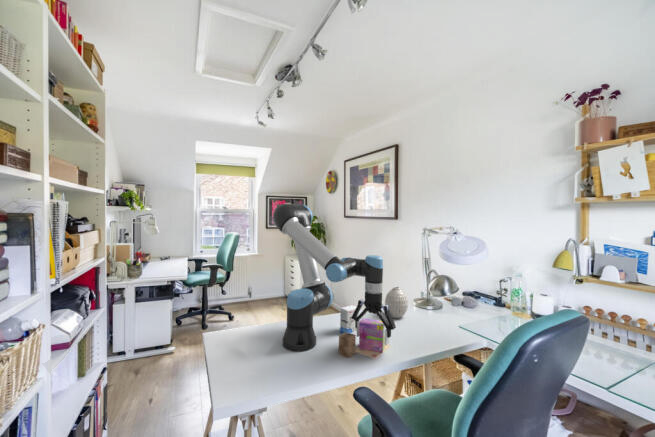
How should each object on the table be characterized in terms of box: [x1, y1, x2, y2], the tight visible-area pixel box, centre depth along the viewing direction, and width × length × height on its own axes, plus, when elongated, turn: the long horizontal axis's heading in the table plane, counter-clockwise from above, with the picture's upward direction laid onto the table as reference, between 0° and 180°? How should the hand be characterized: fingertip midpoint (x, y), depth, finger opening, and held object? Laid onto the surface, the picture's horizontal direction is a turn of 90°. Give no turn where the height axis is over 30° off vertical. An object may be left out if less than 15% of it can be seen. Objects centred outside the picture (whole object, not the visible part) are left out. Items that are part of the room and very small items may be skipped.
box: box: [358, 317, 386, 354], centre depth 131 cm, size 10×6×12 cm, turn 69°
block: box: [338, 332, 357, 359], centre depth 126 cm, size 5×5×8 cm
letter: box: [355, 344, 391, 360], centre depth 131 cm, size 11×15×1 cm
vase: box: [384, 286, 409, 319], centre depth 171 cm, size 13×13×17 cm
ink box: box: [339, 304, 360, 334], centre depth 150 cm, size 9×5×12 cm, turn 131°
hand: (372, 339), depth 131 cm, fingers open, 13 cm apart
